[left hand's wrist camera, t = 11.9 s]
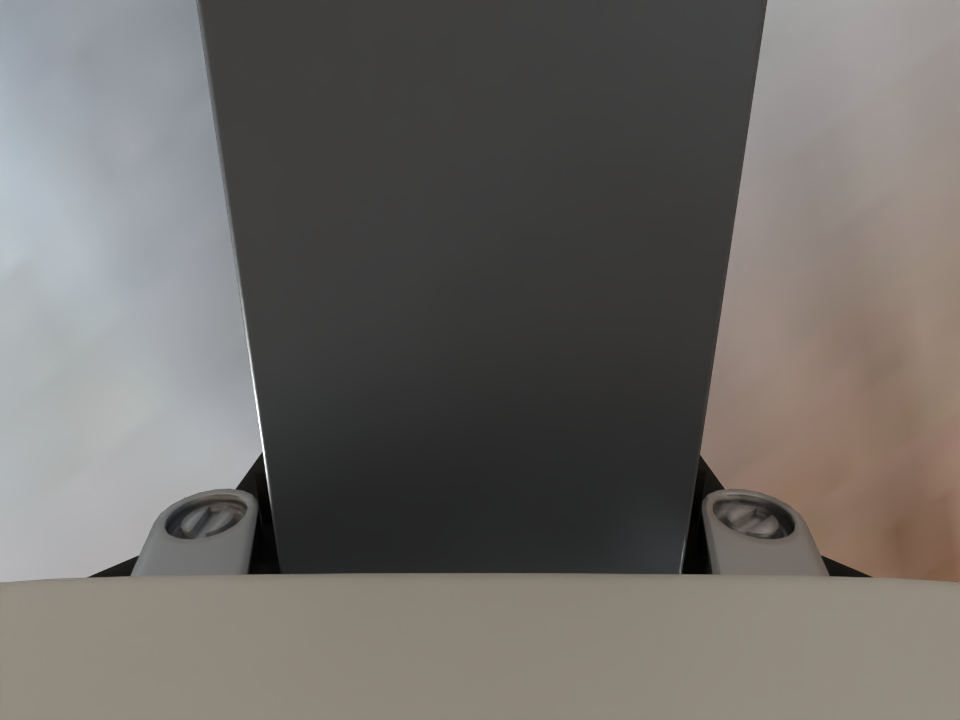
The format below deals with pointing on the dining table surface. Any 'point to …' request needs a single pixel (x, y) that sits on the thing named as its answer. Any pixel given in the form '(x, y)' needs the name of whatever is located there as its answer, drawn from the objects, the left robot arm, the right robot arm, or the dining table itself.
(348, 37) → the beam
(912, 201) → the dining table surface
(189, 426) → the dining table surface
